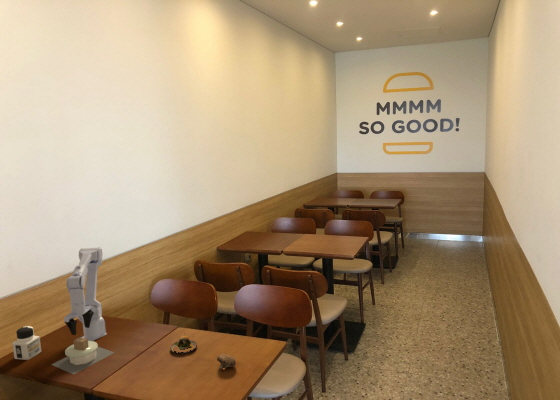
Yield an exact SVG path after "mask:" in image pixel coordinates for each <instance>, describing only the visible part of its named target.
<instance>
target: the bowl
mask: <svg viewBox="0 0 560 400" xmlns="http://www.w3.org/2000/svg"><path fill="white" fill-rule="evenodd" d="M96 355H97V354H96V350H95V351H94V352H93V353H91V354H89V355H86V356H82V357H75V358H72V357H70V363H72V364H75V365H80V364H86V363H88V362H90V361H92V360H94V359H95V357H96Z"/></svg>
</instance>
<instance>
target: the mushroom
mask: <svg viewBox="0 0 560 400" xmlns="http://www.w3.org/2000/svg"><path fill="white" fill-rule="evenodd" d="M216 361H217V362H219V364H220V365H219V368H220V369H221V370H222V369H223V368H226V367H227V368H229V367H232V366H234V367H236V365H237V362H236V359H235V358H234V357H233V356H232V355H229V354H226V353H222V354H219V355H218V356H217V358H216ZM227 368H226V369H227Z"/></svg>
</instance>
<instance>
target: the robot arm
mask: <svg viewBox="0 0 560 400" xmlns="http://www.w3.org/2000/svg"><path fill="white" fill-rule="evenodd" d="M78 259H79V264H78V265H76V266H75V267H74V269H73V272H72V273H71V275H70V276H69V277H67V278H66V288H67V293H68V294H69V298H70V299H69V300H70V306H71V308H70V309H71V311H70V313H69V314H67V315H66V316H64V317H63V322H64V324H65V325H66V326H67V327H68V329H69V332H70V334H71V335H72V336H76V335H77V323H78V321H80V322H81V324H82V328H83V336H81V337H80V338H87V339H88V341H93V342H95V340H98V339H100V338H102V337H104V336H107V335H108V333H107V331H106V330H107V329H106V321H105V319H104V318H103V316H102V315H103V309H102V303H101V302H100V301H98V300H97V288H98V287H97V284H98V273H99V272H98V271H99V267H100V266H102V262H103V249H102V248H101V247H100V246H99V247H87V248H82V247H81V248H80V249H79V251H78ZM84 289H85V290H84ZM76 318H77V319H78V320H75V319H76Z"/></svg>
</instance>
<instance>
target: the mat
mask: <svg viewBox="0 0 560 400" xmlns="http://www.w3.org/2000/svg"><path fill="white" fill-rule="evenodd" d="M96 354H97V355H96V357H95V359H94V360H92V361H90V362H88V363H86V364H80V365H75V364H72V363H70V357H68V356H65V357H64V358H61V359H60V360H57V361H56V362H54V363H52V364H51V366H54V367H56V368H58V369H60V370H63V371H64V372H67V373H69V374H71V375H75V374H77V373H79V372H81V371H83V370H85V369H87V368H89V367H91V366H93V365H94V364H96V363H98V362H101V361H102V360H104V359H105V358H108V357H109V356H111V355H113V354H115V352H113V351H111V350H110V349H109V350H108V349H105V348H103V347H100V346H98V348H97V349H96Z"/></svg>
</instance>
